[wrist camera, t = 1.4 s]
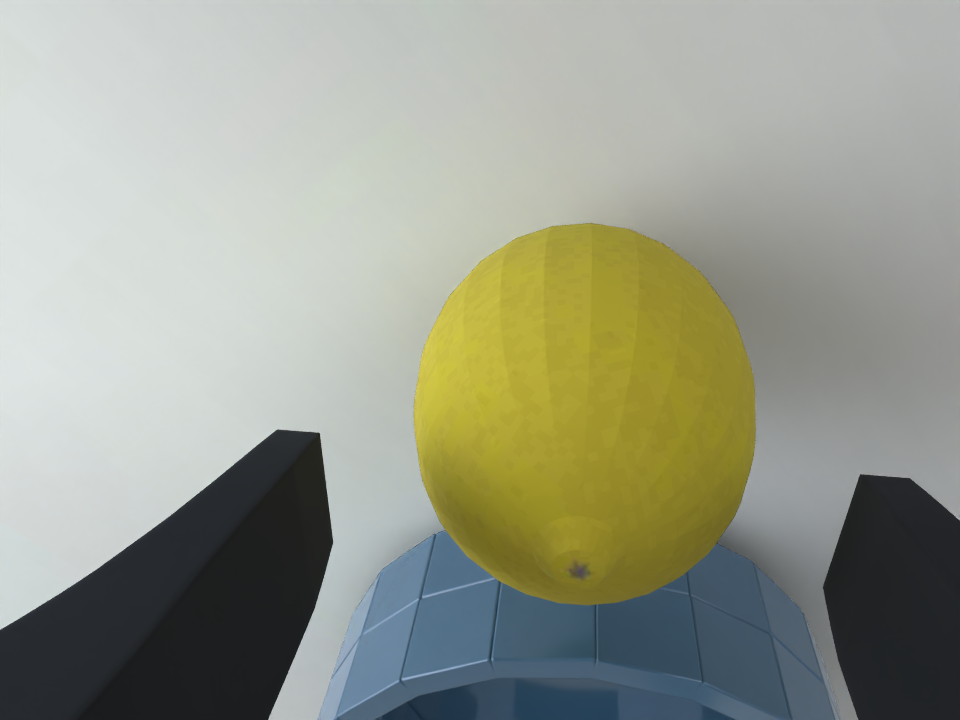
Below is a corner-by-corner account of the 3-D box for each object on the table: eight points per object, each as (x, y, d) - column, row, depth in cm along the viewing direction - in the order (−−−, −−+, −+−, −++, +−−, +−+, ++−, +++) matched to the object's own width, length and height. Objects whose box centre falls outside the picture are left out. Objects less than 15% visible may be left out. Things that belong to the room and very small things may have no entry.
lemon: (754, 348, 17) (871, 660, 10) (526, 433, 19) (489, 746, 12) (653, 115, 14) (711, 309, 8) (405, 239, 16) (274, 483, 10)
